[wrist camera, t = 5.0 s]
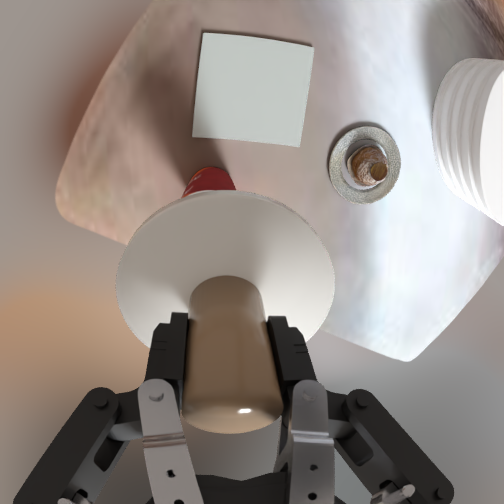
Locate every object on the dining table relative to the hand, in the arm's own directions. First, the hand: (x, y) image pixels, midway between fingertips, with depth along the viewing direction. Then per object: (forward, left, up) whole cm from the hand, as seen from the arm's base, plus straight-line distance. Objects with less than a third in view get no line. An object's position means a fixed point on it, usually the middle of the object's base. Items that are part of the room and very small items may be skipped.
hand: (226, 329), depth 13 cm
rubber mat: (-11, +3, -29) cm, 32 cm away
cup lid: (0, 0, -3) cm, 3 cm away
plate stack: (-15, +45, -30) cm, 56 cm away
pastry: (-3, +21, -30) cm, 37 cm away
